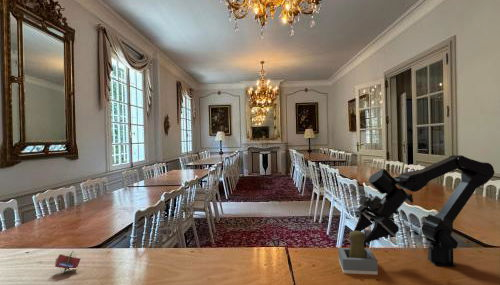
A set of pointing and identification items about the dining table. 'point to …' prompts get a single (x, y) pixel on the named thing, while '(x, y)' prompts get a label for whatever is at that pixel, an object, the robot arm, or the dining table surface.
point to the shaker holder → (358, 262)
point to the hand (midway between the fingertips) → (360, 237)
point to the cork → (357, 244)
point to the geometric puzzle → (67, 261)
